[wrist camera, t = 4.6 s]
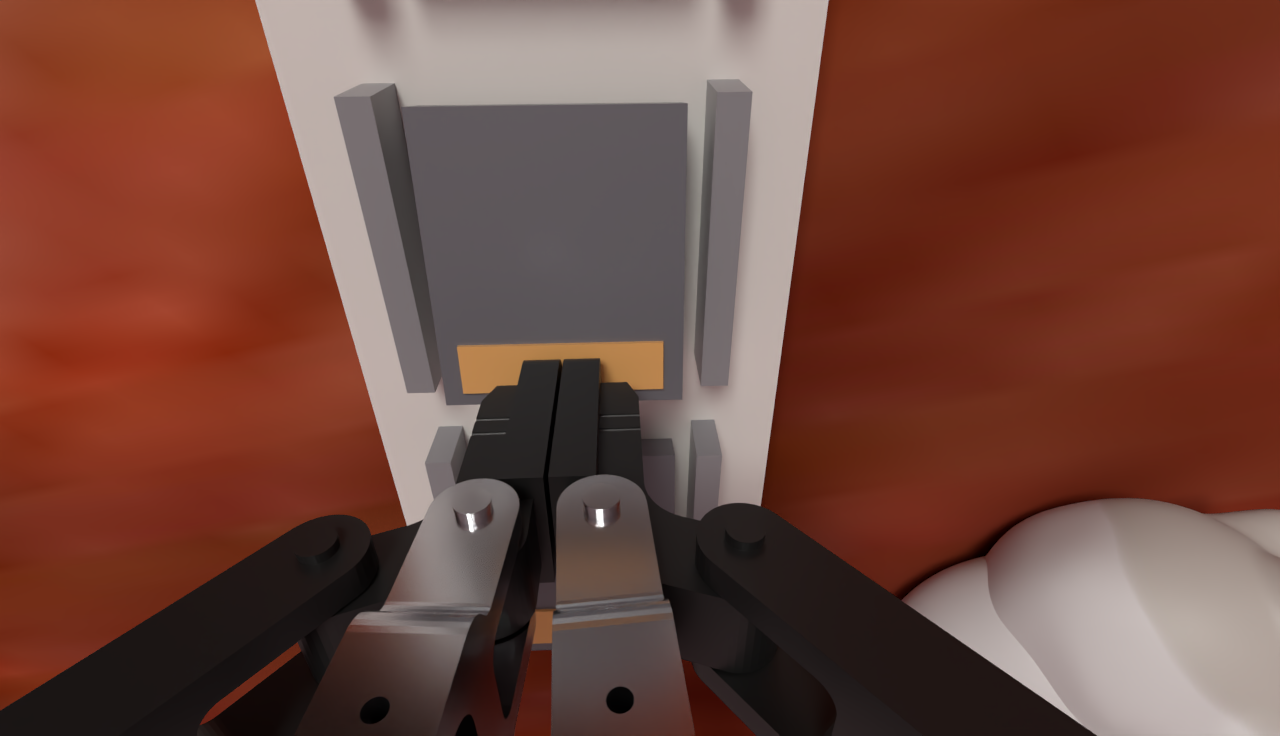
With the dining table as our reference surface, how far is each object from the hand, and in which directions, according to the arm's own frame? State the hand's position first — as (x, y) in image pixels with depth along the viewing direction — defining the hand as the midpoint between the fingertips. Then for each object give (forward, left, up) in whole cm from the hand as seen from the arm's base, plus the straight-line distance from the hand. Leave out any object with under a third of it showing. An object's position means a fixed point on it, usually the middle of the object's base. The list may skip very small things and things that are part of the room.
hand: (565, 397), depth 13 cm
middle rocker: (-2, 0, -1) cm, 3 cm away
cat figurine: (+12, +16, -6) cm, 21 cm away
